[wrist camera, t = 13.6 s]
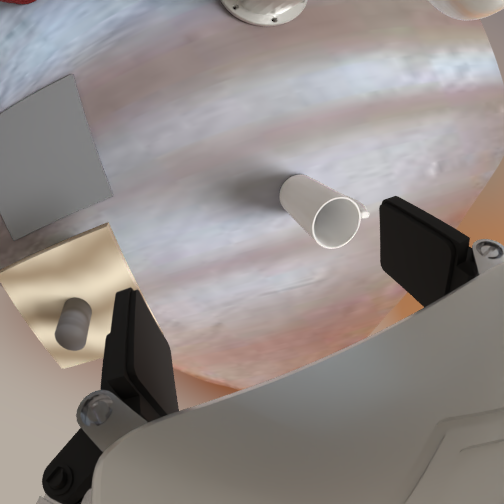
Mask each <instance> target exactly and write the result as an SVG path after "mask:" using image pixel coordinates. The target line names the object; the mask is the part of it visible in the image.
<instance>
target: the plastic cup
mask: <svg viewBox="0 0 504 504" xmlns="http://www.w3.org/2000/svg"><path fill="white" fill-rule="evenodd" d="M0 1H2V2H7V3H16V4H29V3H32V2H34V1H36V0H0Z"/></svg>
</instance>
